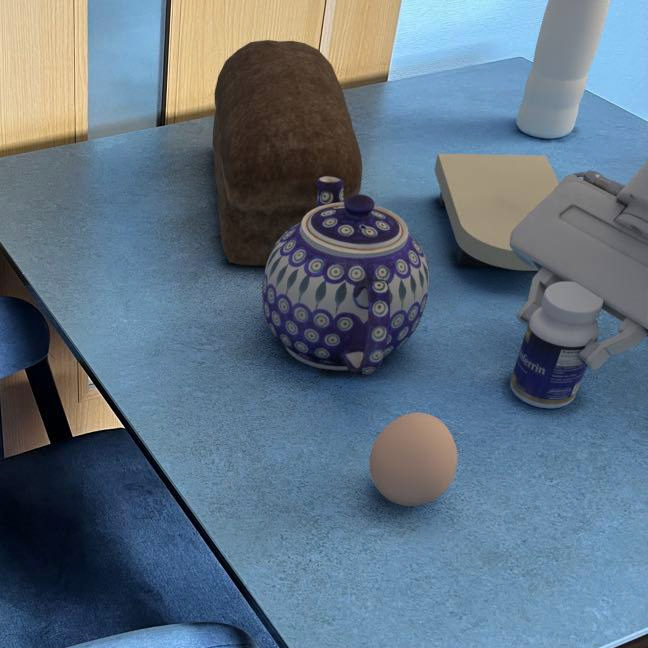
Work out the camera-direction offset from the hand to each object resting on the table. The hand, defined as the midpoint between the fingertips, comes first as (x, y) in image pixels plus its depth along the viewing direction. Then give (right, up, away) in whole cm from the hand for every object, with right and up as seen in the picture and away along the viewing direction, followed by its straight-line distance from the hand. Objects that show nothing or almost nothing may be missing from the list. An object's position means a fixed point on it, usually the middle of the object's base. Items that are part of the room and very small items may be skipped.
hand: (554, 343), depth 89 cm
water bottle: (+17, +36, +44) cm, 59 cm away
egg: (-15, -14, -5) cm, 21 cm away
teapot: (-17, +2, +10) cm, 20 cm away
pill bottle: (+1, -4, +4) cm, 6 cm away
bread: (-19, +22, +31) cm, 42 cm away
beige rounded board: (+4, +16, +24) cm, 29 cm away
